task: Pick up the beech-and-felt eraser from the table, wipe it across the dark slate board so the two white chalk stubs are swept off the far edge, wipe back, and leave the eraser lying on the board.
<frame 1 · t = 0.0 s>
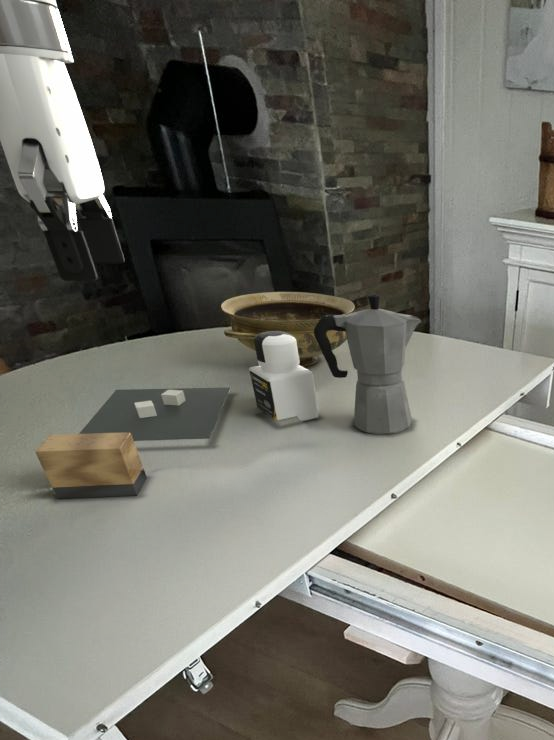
hand: (95, 271, 61), 23 cm above the table, tool pointing down, fingers open, 9 cm apart
medicine bottle: (288, 417, 94), on the table
coffeepot: (376, 425, 93), on the table
eraser: (103, 488, 73), on the table
slate board: (161, 419, 91), on the table
chalk lump b: (175, 402, 93), point 1 cm above the table, touching slate board
chalk lump a: (147, 414, 89), point 1 cm above the table, touching slate board
ceramic bowl: (298, 361, 116), on the table
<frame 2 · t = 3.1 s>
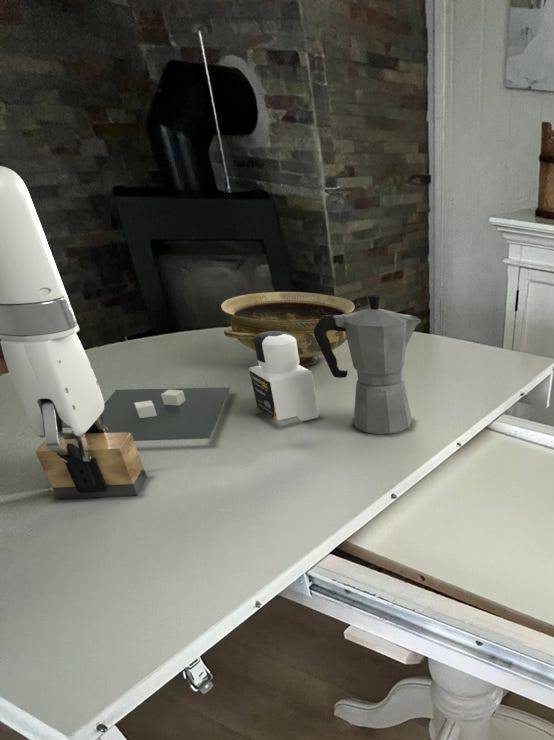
hand: (100, 479, 73), 1 cm above the table, tool pointing down, fingers closed on eraser, 5 cm apart
eraser: (103, 488, 73), on the table, touching gripper
everything else where it was.
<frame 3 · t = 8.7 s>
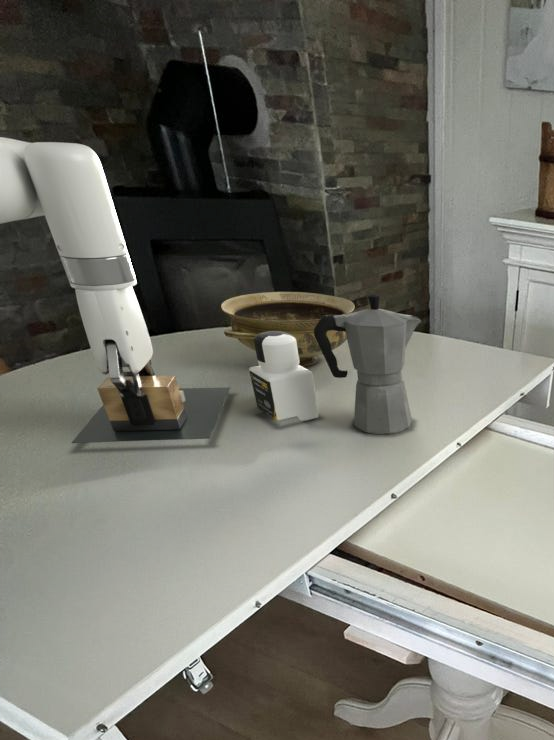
hand: (148, 415, 85), 3 cm above the table, tool pointing down, fingers closed on eraser, 5 cm apart
eraser: (151, 424, 86), point 1 cm above the table, touching gripper
chalk lump a: (147, 413, 89), point 1 cm above the table, touching gripper
everything else where it was.
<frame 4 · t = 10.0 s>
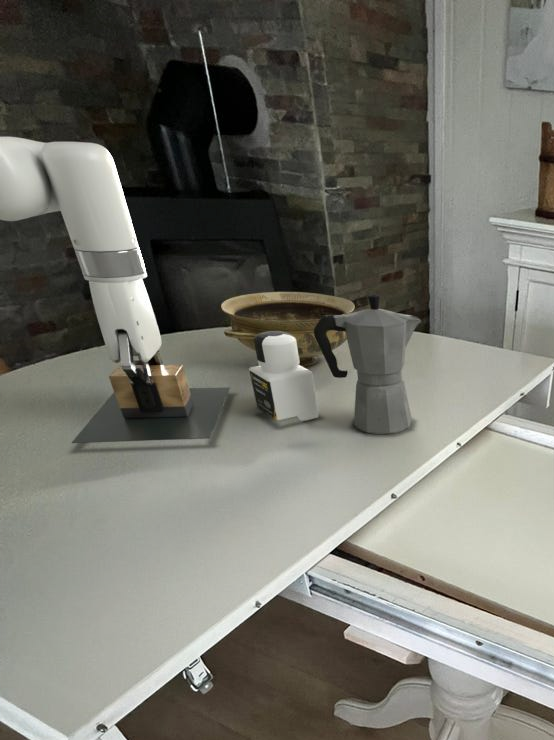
hand: (156, 403, 89), 3 cm above the table, tool pointing down, fingers closed on eraser, 5 cm apart
eraser: (159, 411, 90), point 1 cm above the table, touching gripper
chalk lump b: (176, 401, 94), point 1 cm above the table, touching gripper, slate board
chalk lump a: (149, 403, 93), point 1 cm above the table, touching slate board
everything else where it was.
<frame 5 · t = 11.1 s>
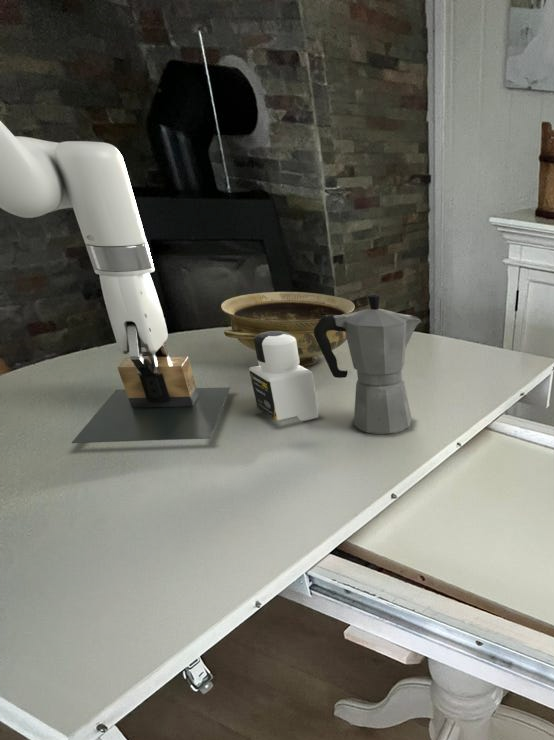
hand: (163, 393, 92), 3 cm above the table, tool pointing down, fingers closed on eraser, 5 cm apart
eraser: (166, 401, 93), point 1 cm above the table, touching gripper
chalk lump b: (185, 392, 97), point 1 cm above the table, touching gripper, slate board
chalk lump a: (154, 393, 96), point 1 cm above the table
everything else where it was.
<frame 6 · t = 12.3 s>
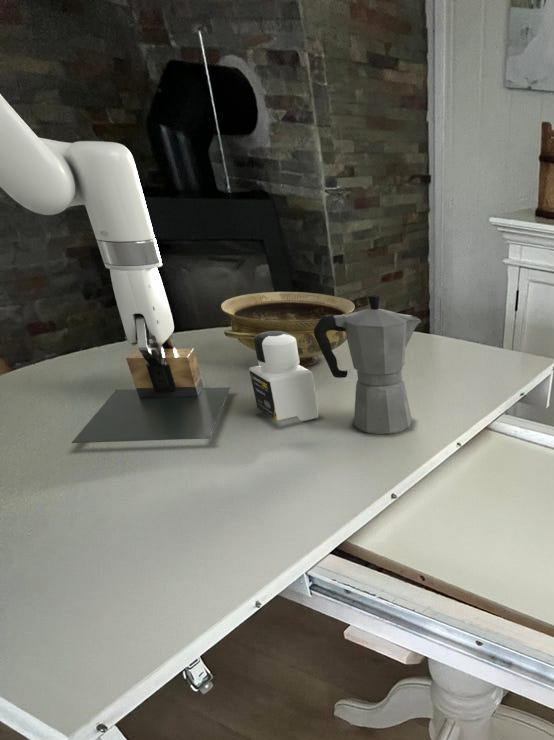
hand: (169, 384, 96), 2 cm above the table, tool pointing down, fingers closed on eraser, 5 cm apart
eraser: (172, 392, 97), point 1 cm above the table, touching gripper
chalk lump b: (193, 390, 100), on the table, tilted 15°
chalk lump a: (156, 386, 99), point 1 cm above the table, tilted 90°
everything else where it was.
when the fingers open (2 cm above the table, at t = 19.1 s): eraser stays where it is, resting on slate board.
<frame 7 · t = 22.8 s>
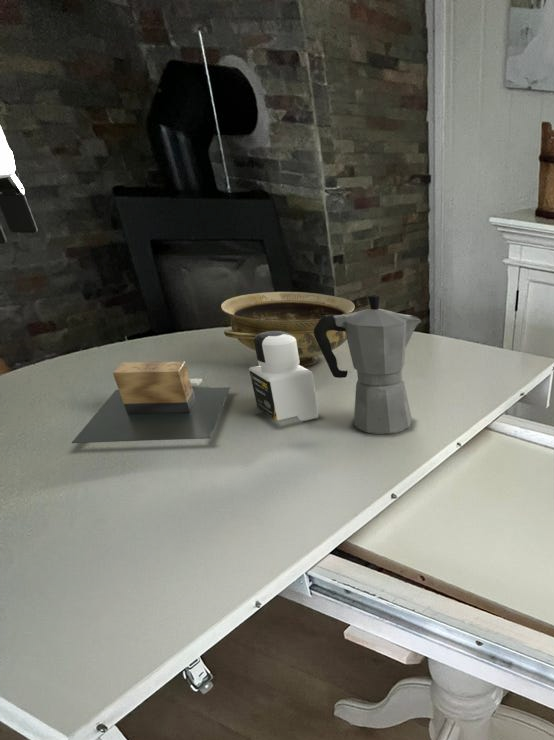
hand: (9, 237, 74), 23 cm above the table, tool pointing down, fingers open, 9 cm apart
eraser: (162, 407, 91), point 1 cm above the table, touching slate board
chalk lump b: (195, 390, 101), on the table
everything else where it was.
at the end: eraser inside the target area on the slate board (2.0 cm from its centre), point 1.2 cm above the slate board's base; chalk lump a touching table; chalk lump b touching table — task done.
